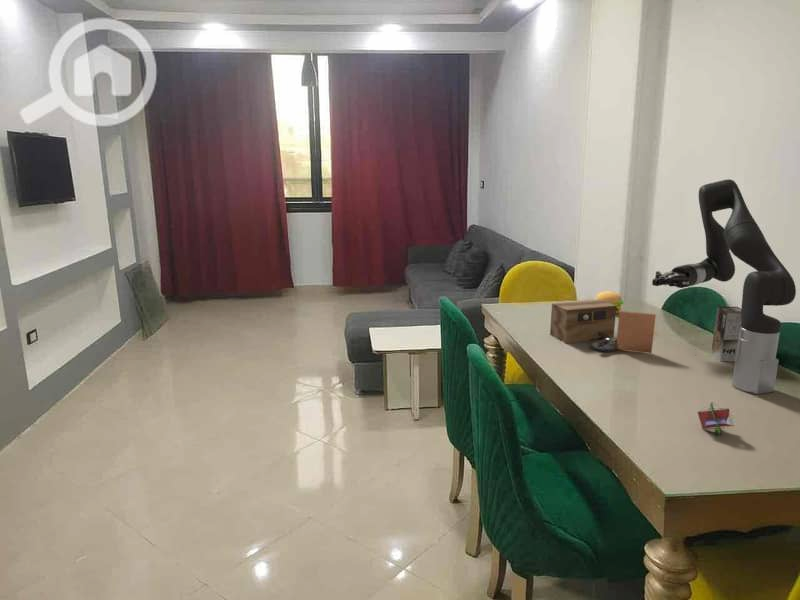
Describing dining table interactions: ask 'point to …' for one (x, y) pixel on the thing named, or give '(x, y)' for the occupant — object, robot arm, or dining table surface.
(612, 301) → the hamburger
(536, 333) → the dining table surface
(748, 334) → the robot arm
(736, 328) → the coffee box
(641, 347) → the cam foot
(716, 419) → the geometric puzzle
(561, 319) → the wooden box
